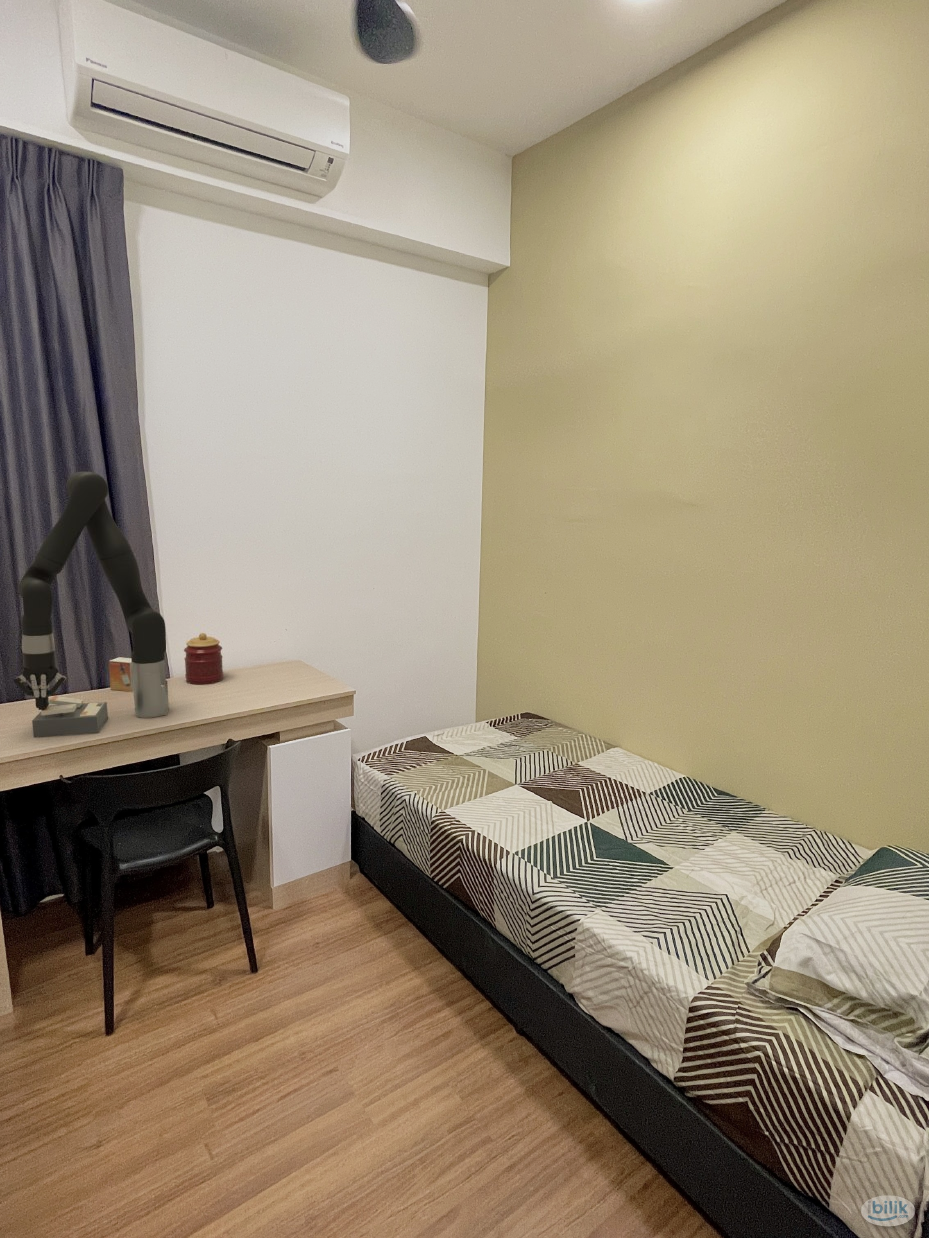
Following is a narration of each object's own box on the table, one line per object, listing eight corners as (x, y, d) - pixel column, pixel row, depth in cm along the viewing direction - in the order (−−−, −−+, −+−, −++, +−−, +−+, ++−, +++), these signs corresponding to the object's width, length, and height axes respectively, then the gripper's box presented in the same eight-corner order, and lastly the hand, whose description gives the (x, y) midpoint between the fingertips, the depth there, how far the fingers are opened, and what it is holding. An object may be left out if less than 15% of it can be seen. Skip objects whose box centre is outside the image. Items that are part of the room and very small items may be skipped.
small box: (110, 690, 223) (108, 660, 221) (121, 685, 229) (119, 656, 227) (131, 692, 222) (129, 662, 220) (142, 687, 228) (140, 658, 225)
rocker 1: (82, 703, 194) (83, 699, 194) (79, 707, 191) (80, 703, 190) (52, 699, 191) (53, 695, 191) (48, 703, 188) (49, 699, 188)
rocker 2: (76, 707, 187) (76, 703, 187) (73, 711, 184) (72, 707, 184) (45, 711, 185) (44, 706, 185) (41, 715, 182) (40, 711, 181)
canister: (195, 674, 245) (193, 628, 242) (229, 675, 245) (227, 630, 241) (179, 684, 232) (176, 636, 229) (214, 685, 232) (212, 637, 228)
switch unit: (107, 717, 198) (106, 699, 197) (98, 733, 186) (96, 714, 185) (47, 721, 193) (46, 703, 192) (33, 737, 181) (31, 718, 180)
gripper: (69, 646, 185) (72, 704, 188) (15, 646, 181) (19, 705, 184) (62, 652, 178) (65, 712, 181) (6, 653, 174) (10, 714, 177)
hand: (42, 709), depth 183 cm, fingers closed
